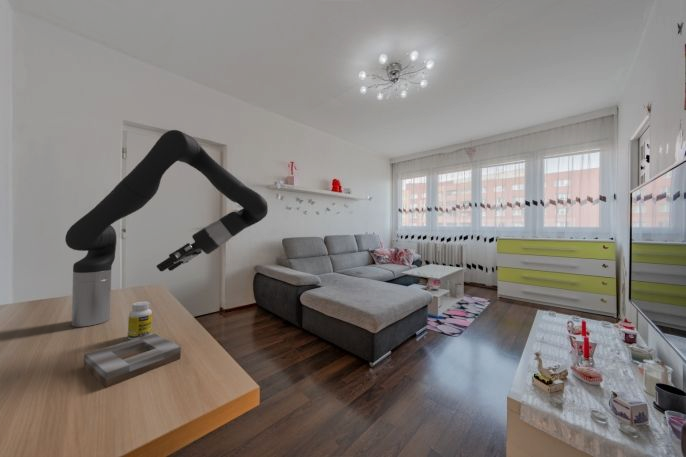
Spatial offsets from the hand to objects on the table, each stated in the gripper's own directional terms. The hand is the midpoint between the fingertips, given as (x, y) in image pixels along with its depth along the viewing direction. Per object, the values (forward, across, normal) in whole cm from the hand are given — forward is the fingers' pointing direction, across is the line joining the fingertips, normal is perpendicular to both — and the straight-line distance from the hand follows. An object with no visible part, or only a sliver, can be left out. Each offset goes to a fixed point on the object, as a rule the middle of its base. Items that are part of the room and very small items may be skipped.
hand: (163, 268), depth 76 cm
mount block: (+14, +13, +17) cm, 25 cm away
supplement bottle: (+17, -4, +12) cm, 21 cm away
